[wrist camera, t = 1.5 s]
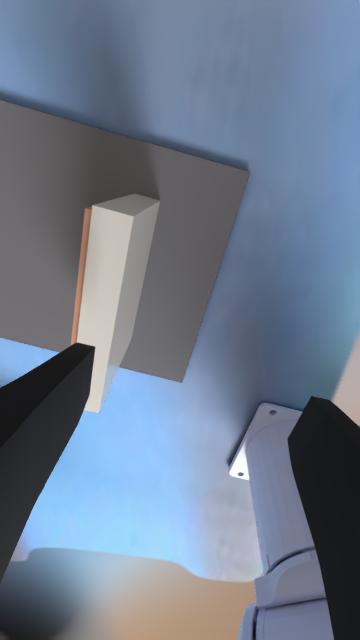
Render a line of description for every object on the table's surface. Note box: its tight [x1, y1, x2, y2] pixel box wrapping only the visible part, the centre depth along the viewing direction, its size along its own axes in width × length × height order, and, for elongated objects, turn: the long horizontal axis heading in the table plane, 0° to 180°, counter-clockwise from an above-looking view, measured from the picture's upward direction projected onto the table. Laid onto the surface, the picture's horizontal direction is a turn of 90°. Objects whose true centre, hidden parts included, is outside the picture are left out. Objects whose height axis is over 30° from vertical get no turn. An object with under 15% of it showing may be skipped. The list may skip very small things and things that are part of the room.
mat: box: [0, 100, 250, 383], centre depth 18 cm, size 15×14×1 cm
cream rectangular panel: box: [71, 194, 160, 413], centre depth 15 cm, size 2×9×7 cm, turn 166°
